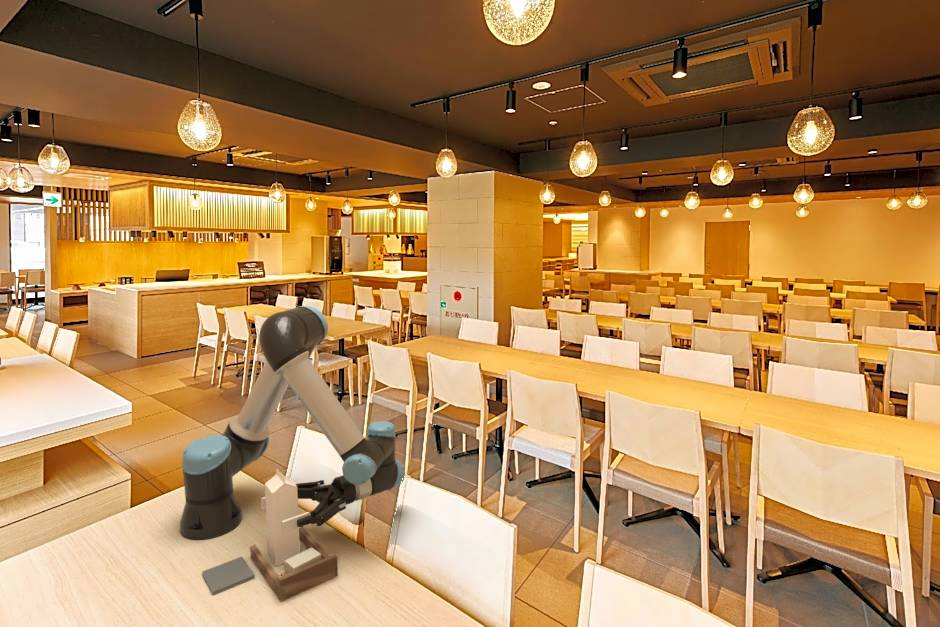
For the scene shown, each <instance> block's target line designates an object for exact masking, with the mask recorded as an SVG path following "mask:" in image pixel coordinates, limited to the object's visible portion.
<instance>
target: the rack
mask: <svg viewBox="0 0 940 627" xmlns="http://www.w3.org/2000/svg"><path fill="white" fill-rule="evenodd" d="M299 542H301V544H303V546H304V547H305V548H306V550H307V549H309V548H311V547H312V548H314V549H315V550H316V551H318V552H319V553H320V554H321V560H319V561H317V562H314V563H312V564H310V565H307V566H305V567H303V568H300V569H298V570H295V571H293V572H291V573H288V574H286V575H284V576H281V575H280V576H279V575H278V574H277V572H276V571H275V570H274V568H273V567H272V566H271V564H270V563H269V561H268V559H266V558H265V556H264V555H263V553H262V552H261V551H260V549H259V548H258V547H257V545H256V544H252V545H250V547H249V550H250V551H249V552H250V559H251V560H252V561H253V563H254V565H255V566H256V567H257V569H258V570H259V572H260V574H261V575H262V576H263V578H264V579H265V581H266V582H267V584H268V585H269V586H270V588H271V589H272V591H273V592H274V593H275V595H276V597H277V598H278V599H279V601H280V602H283V601H285V600H288V599H290V598H292V597H294V596H296V595H298V594H301V593H303V592H306V591H307V590H309V589H312V588H314V587H315V586H319V585H320V584H322V583H325V582H328V581H329V580H332V579H334V578H336V577H338V576H339V574H338V570H339V569H338V568H339V567H338V556H337V554H336V553H333V554H331V555H329V553H328V552H327V551H326V549H324V547H322V546H321V545H320V544H319V543H318V542H317V541H316V540H315V538H313V536H312V535H311V534H310V533H309V532H308V530H306V529H305V528H304V526H303V527H299Z"/></svg>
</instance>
